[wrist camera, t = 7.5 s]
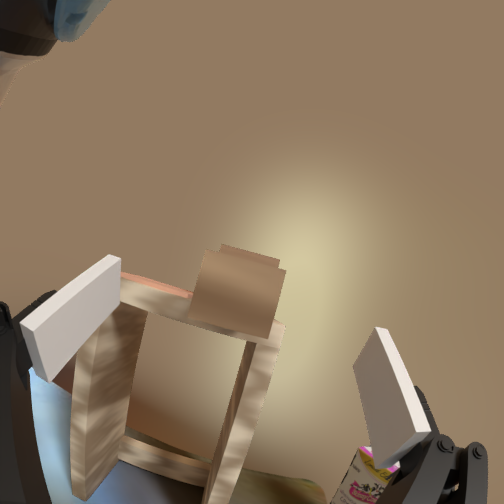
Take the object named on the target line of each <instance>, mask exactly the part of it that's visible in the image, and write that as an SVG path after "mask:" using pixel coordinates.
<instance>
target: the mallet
mask: <svg viewBox="0 0 504 504" xmlns="http://www.w3.org/2000/svg"><path fill="white" fill-rule="evenodd" d="M279 262H280V260H279V259H276V258H272V257H268V256H264V255H261V254H257V253H253V252H249V251H246V250H242V249H238V248H235V247H231V246H227V245H224V244H222V245H221V248H220V251H219V252H215V251H212V250H209V249H206V251H205V254H204V258H203V261H202V265H201V268H200V272H199V275H198V280H197V283H196V286H195V290H194V293H193V297H192V301H191V304H190V308H189V312H188V316H187V317H188V318H191V319H195V320H198V321H201V322H205V323H208V324H212V325H215V326H219V327H222V328H226V329H229V330H233V331H237V332H241V333H245V334H248V335H252V336H256V337H260V338H264V339H268V338H269V334H270V331H271V327H272V323H273V320H274V316H275V312H276V308H277V305H278V301H279V297H280V293H281V289H282V285H283V282H284V277H285V274H286V270H283V269H279V268H278V266H279Z"/></svg>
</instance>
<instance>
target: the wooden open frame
mask: <svg viewBox="0 0 504 504" xmlns="http://www.w3.org/2000/svg"><path fill="white" fill-rule="evenodd" d="M191 301H192V298H185V297H182V296H178V295H175V294H172V293H169V292H166V291H162V290H159V289H156V288H153V287H150V286H147V285H144V284H141V283H138V282H135V281H132V280H129V279H126V278H123V277H120V304H119V305H118V306H117V308H116V309H115V310H114V311H113V312H112V313H111V314H110V315H109V316H108V317H107V318H106V319H105V320H104V321H103V323H102V324H101V325H100V326H99V327H98V328H97V329H96V330H95V331H94V332H93V334H92V335H91V336H90V337H89V338H88V339H87V340H86V341H85V343H84V344H83V345H82V346H81V347H80V348H79V349H78V351H77V358H76V366H75V374H74V383H73V394H72V406H71V427H70V462H71V481H72V494H73V495H74V496H76V497H78V498H80V499H81V500H83V501H85V502H86V501H87V500H88V499H89V498H90V496H91V495H92V494H93V493H94V491H95V490H96V489H97V488H98V486H99V485H100V484H101V483H102V481H103V480H104V479H105V478H106V476H107V475H108V474H109V472H110V471H111V470H112V469H113V467H114V466H115V465H116V464H117V462H118V461H119V460H123V461H125V462H128V463H130V464H132V465H135V466H137V467H140V468H143V469H145V470H148V471H151V472H154V473H156V474H159V475H162V476H165V477H169V478H172V479H175V480H178V481H182V482H185V483H189V484H193V485H196V486H200V487H204V492H203V498H202V503H201V504H228V502H229V500H230V497H231V495H232V492H233V489H234V487H235V484H236V481H237V479H238V476H239V473H240V470H241V468H242V465H243V462H244V459H245V456H246V454H247V451H248V448H249V445H250V442H251V439H252V436H253V433H254V430H255V427H256V424H257V421H258V418H259V414H260V412H261V409H262V405H263V402H264V399H265V396H266V393H267V390H268V386H269V383H270V380H271V376H272V373H273V370H274V366H275V363H276V359H277V356H278V352H279V349H280V345H281V342H282V338H283V335H284V331H285V327H286V326H284V325H283V324H282V323H280V322H278V321H277V320H275V319H274V320H273V323H272V327H271V331H270V334H269V338H268V339H264V338H260V337H256V336H252V335H248V334H245V333H241V332H237V331H233V330H229V329H226V328H222V327H219V326H215V325H212V324H208V323H205V322H201V321H198V320H195V319H191V318H188V317H187V316H188V312H189V308H190V304H191ZM148 311H150V312H152V313H155V314H158V315H161V316H164V317H167V318H171V319H174V320H176V321H180V322H183V323H186V324H189V325H193V326H196V327H199V328H203V329H206V330H209V331H213V332H217V333H220V334H224V335H227V336H231V337H235V338H239V339H243V340H246V341H247V342H246V346H245V349H244V353H243V356H242V360H241V364H240V367H239V371H238V374H237V378H236V381H235V385H234V388H233V392H232V395H231V399H230V402H229V406H228V409H227V413H226V416H225V420H224V423H223V426H222V430H221V433H220V437H219V440H218V443H217V447H216V450H215V453H214V457H213V460H212V463H211V464H210V463H206V462H202V461H198V460H195V459H191V458H188V457H184V456H181V455H178V454H174V453H171V452H168V451H165V450H162V449H159V448H156V447H154V446H151V445H148V444H145V443H143V442H140V441H138V440H135V439H133V438H130V437H128V436H125V435H124V433H125V426H126V419H127V412H128V406H129V400H130V393H131V389H132V383H133V378H134V373H135V368H136V363H137V358H138V353H139V348H140V344H141V339H142V335H143V331H144V327H145V322H146V318H147V314H148Z"/></svg>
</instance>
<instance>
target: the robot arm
mask: <svg viewBox="0 0 504 504" xmlns="http://www.w3.org/2000/svg"><path fill="white" fill-rule="evenodd" d="M109 2H110V0H0V108H1V106H2V104H3V102H4V99H5V97H6V95H7V93H8V91H9V89H10V87H11V85H12V83H13V81H14V79H15V77H16V76H17V74H18V72H19V70H20V69H21V68H22V67H25V66H27V65H29V64H31V63H33V62H36V61H38V60H41V59H43V58H45V57H46V56H47V54H48V53H49V51H50V50H51V49H52V47H53V46H54V44H55V43H56V41H57V40H60V41H61V42H63V41H67V42H73V41H75V40H77V39H78V38H79V37H80V36H81V35H82V34H83V33H84V32H85V31H86V30H87V29H88V28H89V26H90V25H91V23H92V22H93V21H94V19H95V18H96V17H97V15H99V14H100V13H101V11H102V10H103V9H104V8H105V6H106V5H107V4H108V3H109ZM120 276H121V258H118V257H115V256H112V255H107V256H106V257H104V258H103V259H102V260H100V261H99V262H97V263H96V264H95V265H93V266H92V267H91V268H89V269H88V270H86V271H85V272H84V273H82V274H81V275H79V276H78V277H77V278H75V279H74V280H73V281H71V282H70V283H69V284H67V285H66V286H65V287H63V288H62V289H61V290H60V291H56V290H53V291H50V292H47V293H45V294H43V295H42V296H41V297H39V298H38V299H37V301H36V300H35V301H34V302H33V303H31V305H29V306H28V307H26V308H25V309H24V310H23V311H21V312H20V313H19V314H18V315H16V316H15V317H14V318H13V319H11V314H10V311H9V307H8V306H7V304H6V303H4V302H0V504H52V502H51V499H50V496H49V492H48V489H47V485H46V482H45V478H44V474H43V470H42V466H41V461H40V457H39V452H38V446H37V441H36V435H35V428H34V421H33V412H32V402H31V389H30V374H29V371H28V370H29V369H30V368H31V367H32V366H33V368H34V370H35V373H36V375H37V376H38V377H40V378H42V379H43V380H45V381H46V382H48V383H49V384H50V382H51V381H52V380H53V379H54V377H55V376H56V375H57V374H58V373H59V371H60V370H61V369H62V368H63V367H64V366H65V364H66V363H67V362H68V361H69V360H70V358H71V357H72V356H73V355H74V354H75V353H76V352H77V350H78V349H79V348H80V347H81V346H82V345H83V344H84V343H85V341H86V340H87V339H88V338H89V337H90V336H91V335H92V334H93V332H94V331H95V330H96V329H97V328H98V327H99V326H100V325H101V324H102V323H103V321H104V320H105V319H106V318H107V317H108V316H109V315H110V314H111V313H112V312H113V311H114V310H115V309H116V308H117V306H118V305H119V304H120ZM353 369H354V373H355V377H356V381H357V385H358V389H359V393H360V398H361V402H362V406H363V410H364V415H365V420H366V424H367V429H368V433H369V439H370V444H371V449H372V454H373V460H374V465H375V469H383V468H391V467H392V466H393V465H394V464H396V463H397V462H398V461H399V464H400V467H399V468H398V469H397V470H396V471H394V472H393V473H392V474H390V475H389V476H388V477H387V478H386V479H385V480H388V479H389V478H391V477H392V478H391V479H390V481H389V483H388V484H387V486H386V487H385V489H384V490H383V492H382V494H381V495H380V497H379V498H378V499H377V501H376V502H375V504H487V489H488V459H487V458H488V457H487V451H486V449H485V448H484V446H483V445H482V444H480V443H478V442H473V443H471V444H469V445H468V446H467V447H466V448H465V449H464V448H459V447H455V445H454V443H453V441H452V440H451V439H450V438H449V437H448V436H446V435H444V434H440V433H439V430H438V428H437V425H436V423H435V421H434V418H433V415H432V413H431V411H430V408H429V406H428V404H427V401H426V399H425V396H424V394H423V393H422V391H421V390H420V389H419V388H418V387H417V386H413V384H412V382H411V379H410V377H409V375H408V372H407V370H406V368H405V366H404V364H403V362H402V359H401V357H400V355H399V353H398V351H397V349H396V346H395V344H394V342H393V340H392V338H391V336H390V334H389V332H388V330H387V329H383V328H378V327H375V328H374V330H373V332H372V333H371V335H370V337H369V339H368V341H367V343H366V345H365V346H364V348H363V350H362V351H361V353H360V355H359V356H358V358H357V360H356V361H355V363H354V365H353ZM458 483H459V486H458V489H457V490H456V491H455V485H457V484H458Z"/></svg>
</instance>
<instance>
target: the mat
mask: <svg viewBox="0 0 504 504" xmlns="http://www.w3.org/2000/svg"><path fill="white" fill-rule="evenodd" d="M120 277H123V278H126V279H129V280H132V281H135V282H138V283H141V284H144V285H147V286H150V287H153V288H156V289H159V290H162V291H166V292H169V293H172V294H175V295H178V296H182V297H185V298H192V297H193V293H194V292H191V291H188V290H184V289H181V288H178V287H174V286H171V285H167V284H165V283H161V282H158V281H155V280H152V279H149V278H146V277H142V276H137V275H133V274H129V273H124V272H121V276H120Z"/></svg>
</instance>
